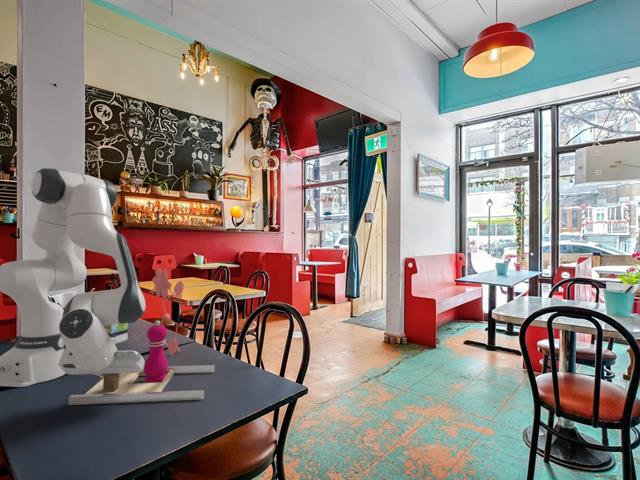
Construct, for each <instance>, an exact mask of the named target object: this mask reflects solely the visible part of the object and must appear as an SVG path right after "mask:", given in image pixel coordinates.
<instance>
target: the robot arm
mask: <svg viewBox="0 0 640 480" xmlns="http://www.w3.org/2000/svg"><path fill="white" fill-rule="evenodd" d="M30 186H31V193H32V196H33V197H34V198H35V199H36V200H37V201H39V202H41V204H40V207H39V210H38V213H37V217H36V221H35V226H34V229H33V234H32V240H33V242H34V244H35V245H36V246H37V247H38V248H40V249H41V250H44V251H45V252H46V253H45V254H46V256H45V257H44V258H42V259H41V258H40V259H39V258H38V259H35V258H34V259H20V260H15V261H9V262H5V263H3V264H1V265H0V292H1V293H3V294H5V295H6V296H8V297H10V298H11V299H12V300H13V301H14V302H15V303H16V306H17V308H18V309H19V314H20V327H21V328H20V332H21V333H20V335H17V336H16V337H15V338H12V339H11V342H10V343H11V344H12V343H15V344H14V345H13V347H12V348H10V349H9V350H7V351H6V352H5V353H3V354H2V355H1V356H0V387H11V388H12V387H13V388H14V387H15V388H25V387H30V386H32V385H35V384H39V383H43V382H47V381H50V380H51V381H52V380H55V379H57V378H61V377H62V376H64V375H66V374H67V375H95V376H98V377H99V378H100V379H103V378H104V374H111V373H116V374H115V376H116V377H122V376H123V373H140V372H141V371H142V370H143V367H144V366H145V363H146V359H144V357H143V356H142V355H141V353H140V352H138V351H136V350H132V349H131V350H129V349H128V350H126V349H125V350H118V349H117V346H116V344H114V342H113V341H112V339H111V337H110V336H109V335H108V334H107V331H106V329H105V327H104V326H107V325H113V324H119V323H120V324H124V323H128V324H134V323H135V322H137V321H138V320H140V318H141V317H142V316H143V315H144V314H145V313H146V299H145V296H144V294H143V292H142V290H141V289H142V288H141V286H140V283H139V278H138V275H137V272H136V268H135V263H134V261H133V256H132V254H131V253H132V252H131V249H130V246H129V244H128V242H127V239H126V237H125V236H124V235H123V234H122V233H119V232H118V231H117V230H116V229H115V227H114V225H113V224H114V223H113V213H112V208H113V207H114V206H115V204H116V203H117V198H118V190H117V187H116V186H115V184H114V183H112V181H108V180H107V179H104V178H101V179H100V178H98V177H95V176H92V175H88V174H84V173H81V172H80V173H77V172H71V171H66V170H58V169H57V168H50V167H49V168H46V167H45V168H41V169H39V170H37V171H36V173H35V174H34V176H33V177H32V179H31V185H30ZM75 246H78V247H80V248H81V249H84V250H87V251H90V252H95V253H99V254H104V255H108V256H110V257H112V258H113V259H114V262H115V265H116V269H117V273H118V277H119V281H120V287H118V288H113V289H112V288H111V289H106V290H97V291H95V290H94V291H87V292H81V293H77V294H75V295H74V296H73V297H71V299H70V300H69V301H68V302H67V303H66V305H65V306H64V308H63V307H62V306H61V305H60V304H58V303H56V302H53V301H50V298H49V296H48V292H53V291H54V292H55V291H63V290H70V289H72V288H76V287H78V286H82V284H83V283H84V282H85V280H86V278H87V275H88V270H87V266H86V265H85V263H84V262H83V261H81V260H80V259H79V258H78V257H77V254H76V251H75V250H76V249H75Z"/></svg>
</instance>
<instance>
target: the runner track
mask: <svg viewBox="0 0 640 480" xmlns="http://www.w3.org/2000/svg"><path fill="white" fill-rule="evenodd" d="M169 369H174V374H173V375H175V374H176V375H177V374H207V373H208V374H209V373H210V374H211V373H213V374H214V373H215V364H211V365H210V364H209V365H208V364H207V365H206V364H205V365H203V364H202V365H168V370H169ZM143 370H144V367H143ZM204 395H205V390H202V389H201V390H198V389H197V390H175V391H172V390H171V391H170V390H169V391H161V392H141V393H114V394H86V395H84V394H70V396H69V397H68V405H69V406H75V405H77V406H78V405H96V404H97V405H98V404H101V405H102V404H120V403H121V404H124V403H125V404H126V403H144V402H145V403H146V402H148V403H149V402H151V403H153V402H169V401H170V402H171V401H174V402H176V401H192V400H194V401H195V400H199V401H201V400H204V399H205V396H204Z"/></svg>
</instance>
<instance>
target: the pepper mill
mask: <svg viewBox="0 0 640 480" xmlns="http://www.w3.org/2000/svg"><path fill="white" fill-rule="evenodd" d="M166 337H168V329H167V327H165V326H164V325H163V326H162V324H161V321H160V320H155V322H154V325H151V326H150V328H148V329H147V332H146V338H147V339H149V340H148V344H147V345H148V347H149V352H148V356H147V359H146V360H145V363H144V373H145V374H146V375H147V376H144V377H145V378H144V383H161V382H162V381H163V379H164V378H165V377H166V374H165V372H166V371H167V370H168V366H169V363H168V359H167V357H166V355H165V352H164V350H165V349H164V345H166V344H165V341H166V339H165V338H166Z"/></svg>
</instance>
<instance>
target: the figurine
mask: <svg viewBox="0 0 640 480" xmlns="http://www.w3.org/2000/svg"><path fill="white" fill-rule="evenodd" d="M154 272H155V276H153V278H152V280H151V281H152V283H153V284H154V287H152V289H150V290H149V292H148V294H150V293H152V292H153V291H155V294H156V297H157V298H159V297H160V296H161V297H162V299H163V301H161V302H162V307H163V312H164V314H163V315H162V319H161V325H162V326H164V325H163V321H170V322H172V323H173V324H175V325H176V329H175V334H174V338H173V339H172V340H171V341H170V342H169V344H168V343H167V341H166V340H165V344H164V345H165V346H166V348H167V349H168V353H169V355H170V357H171V356H173V355H174V353H176V351H178V353H181V350H180V348H179V342H178V340H177V339H176V337H177V332H178V327H179V324H178V323H177V322H176V321H173V320H172V319H170V317H171V315H170V314H169V313H166V307H165V302H166V301H167V300H169V299H170V298H171V297H176V298H179V299H182V293H183V291H184V288H185V286H184V283H183V281H181V280H179V281H178V282H177V283H176V284H175V285H174V288H173V291H172V290H171V288H172V283H171V282H170V281H169V275H168V270H167V268H164V269H163V270H162V269H161V268H160V267H158V268H157V270H155V271H154ZM169 292H170V294H169Z"/></svg>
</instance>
